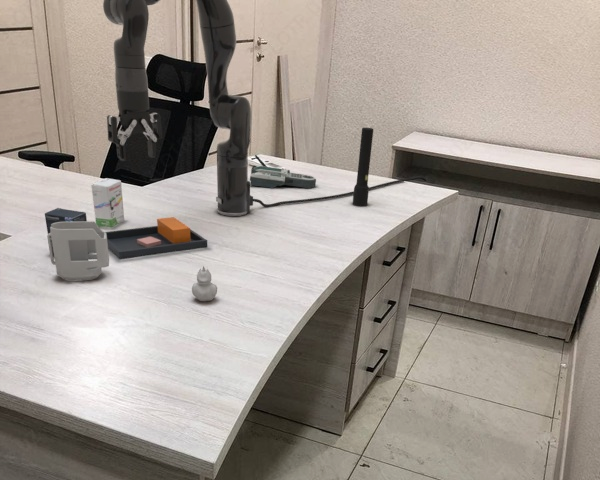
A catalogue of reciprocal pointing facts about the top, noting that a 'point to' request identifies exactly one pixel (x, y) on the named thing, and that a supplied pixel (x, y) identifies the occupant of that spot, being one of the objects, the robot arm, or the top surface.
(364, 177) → the flashlight
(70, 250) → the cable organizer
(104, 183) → the ink box
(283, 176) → the communication device
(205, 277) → the rubber duck
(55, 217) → the box
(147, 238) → the pink block
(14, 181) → the top surface
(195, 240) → the tray
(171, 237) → the orange rectangular block
